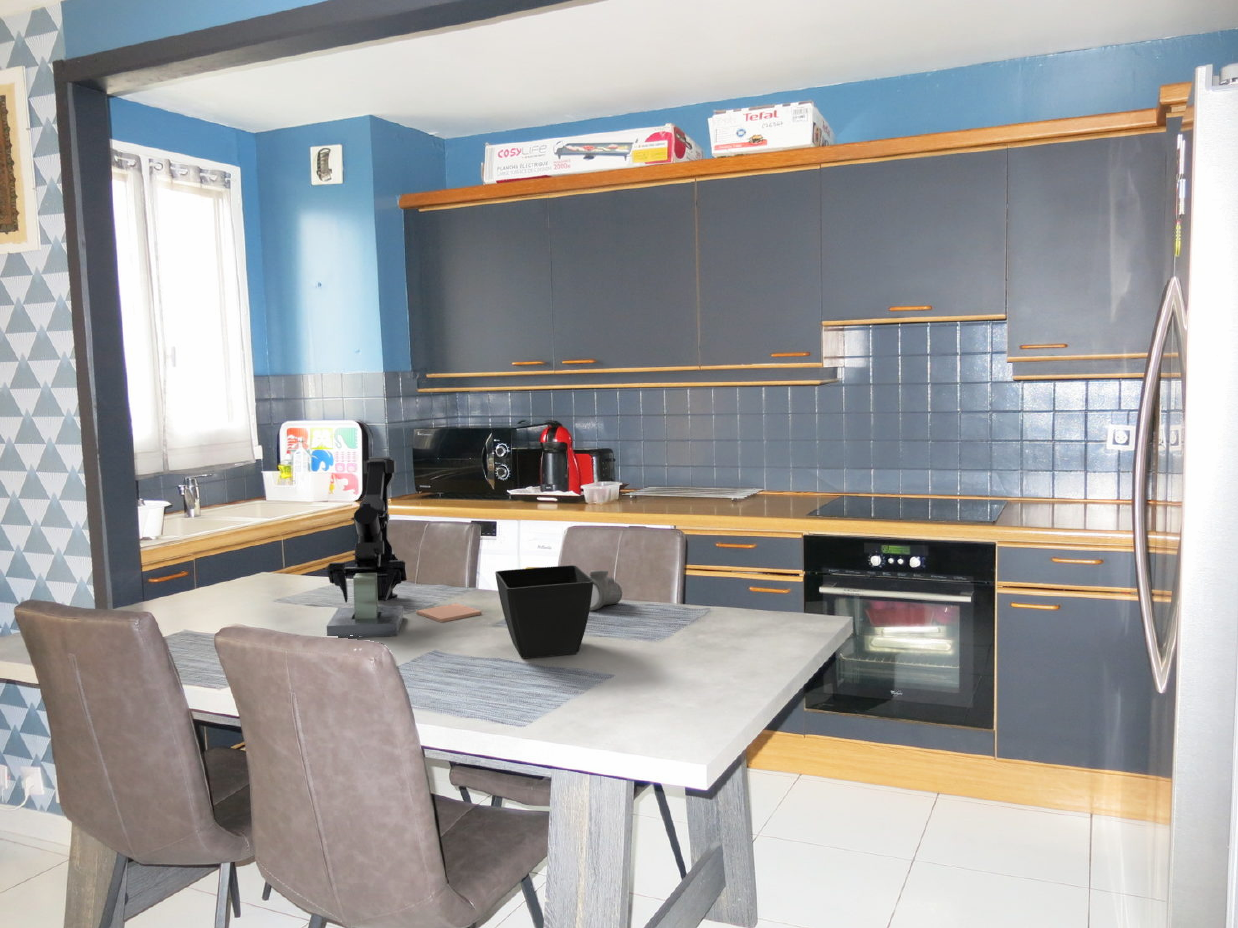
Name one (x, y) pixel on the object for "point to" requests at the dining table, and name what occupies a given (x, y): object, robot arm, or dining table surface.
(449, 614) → the terracotta pad
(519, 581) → the flower pot
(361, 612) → the square plug
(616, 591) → the pipe fitting
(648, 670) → the dining table surface
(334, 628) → the socket plate
